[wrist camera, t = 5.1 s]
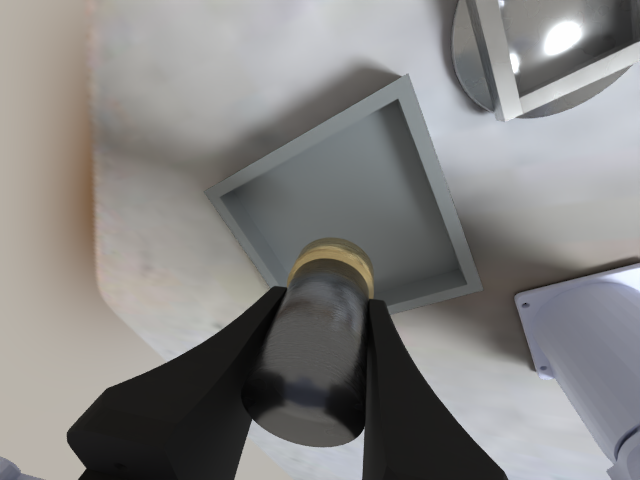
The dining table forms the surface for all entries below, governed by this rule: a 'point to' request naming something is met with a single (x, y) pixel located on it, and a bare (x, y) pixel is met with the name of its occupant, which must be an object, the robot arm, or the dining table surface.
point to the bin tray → (357, 202)
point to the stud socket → (542, 52)
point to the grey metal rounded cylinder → (316, 350)
